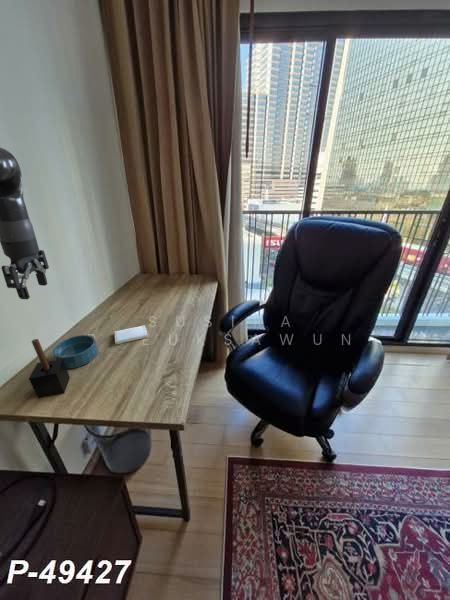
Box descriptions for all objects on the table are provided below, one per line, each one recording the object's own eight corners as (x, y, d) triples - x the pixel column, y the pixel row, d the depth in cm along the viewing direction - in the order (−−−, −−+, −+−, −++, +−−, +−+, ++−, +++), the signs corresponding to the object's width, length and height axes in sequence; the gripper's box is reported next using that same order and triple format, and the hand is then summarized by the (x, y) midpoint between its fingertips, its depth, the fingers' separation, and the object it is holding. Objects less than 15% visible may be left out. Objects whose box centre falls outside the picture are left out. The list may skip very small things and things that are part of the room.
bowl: (52, 373, 84) (47, 360, 82) (63, 350, 96) (59, 338, 93) (95, 365, 88) (91, 353, 85) (100, 344, 99) (97, 332, 97)
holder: (38, 398, 75) (28, 378, 71) (45, 382, 81) (37, 362, 77) (64, 393, 76) (56, 373, 73) (70, 377, 83) (62, 358, 79)
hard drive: (114, 341, 98) (147, 334, 102) (114, 331, 104) (144, 324, 109) (115, 345, 98) (148, 337, 103) (115, 334, 105) (145, 327, 109)
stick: (51, 390, 78) (30, 342, 70) (52, 386, 79) (32, 339, 71) (57, 389, 78) (37, 341, 70) (58, 385, 80) (39, 338, 72)
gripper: (20, 228, 71) (36, 280, 79) (-21, 243, 58) (3, 303, 66) (48, 230, 71) (61, 281, 79) (13, 245, 59) (33, 304, 67)
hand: (34, 291), depth 73 cm, fingers open, 8 cm apart
